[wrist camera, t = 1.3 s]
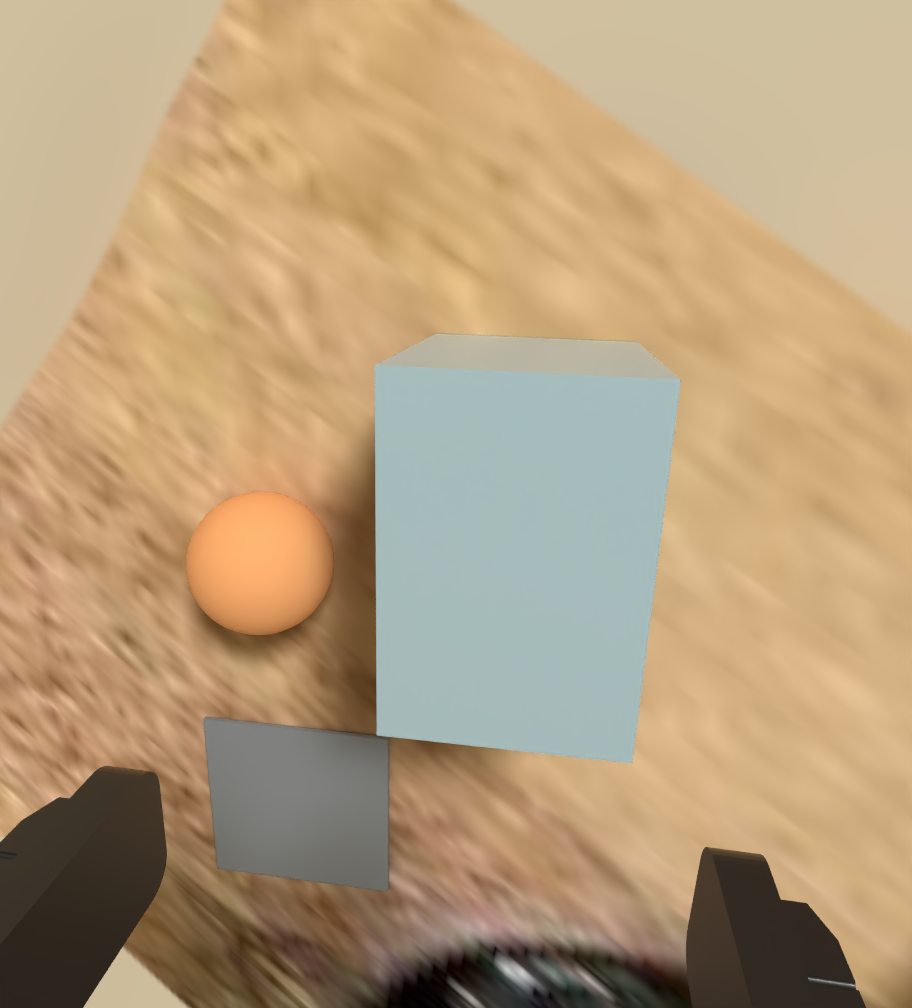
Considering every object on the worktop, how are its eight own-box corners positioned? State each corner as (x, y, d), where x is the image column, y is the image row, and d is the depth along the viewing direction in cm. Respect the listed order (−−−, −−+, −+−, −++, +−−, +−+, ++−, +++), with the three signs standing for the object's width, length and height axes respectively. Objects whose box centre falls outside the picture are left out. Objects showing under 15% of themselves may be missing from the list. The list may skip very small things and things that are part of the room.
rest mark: (388, 736, 30) (388, 739, 30) (388, 888, 32) (387, 891, 32) (205, 716, 31) (203, 719, 30) (219, 865, 33) (217, 868, 33)
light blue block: (637, 341, 24) (680, 379, 15) (608, 610, 27) (632, 763, 18) (436, 333, 24) (374, 365, 16) (431, 595, 27) (376, 735, 19)
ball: (349, 479, 26) (304, 524, 22) (351, 602, 28) (309, 669, 23) (220, 470, 27) (149, 513, 22) (229, 591, 29) (165, 654, 24)
